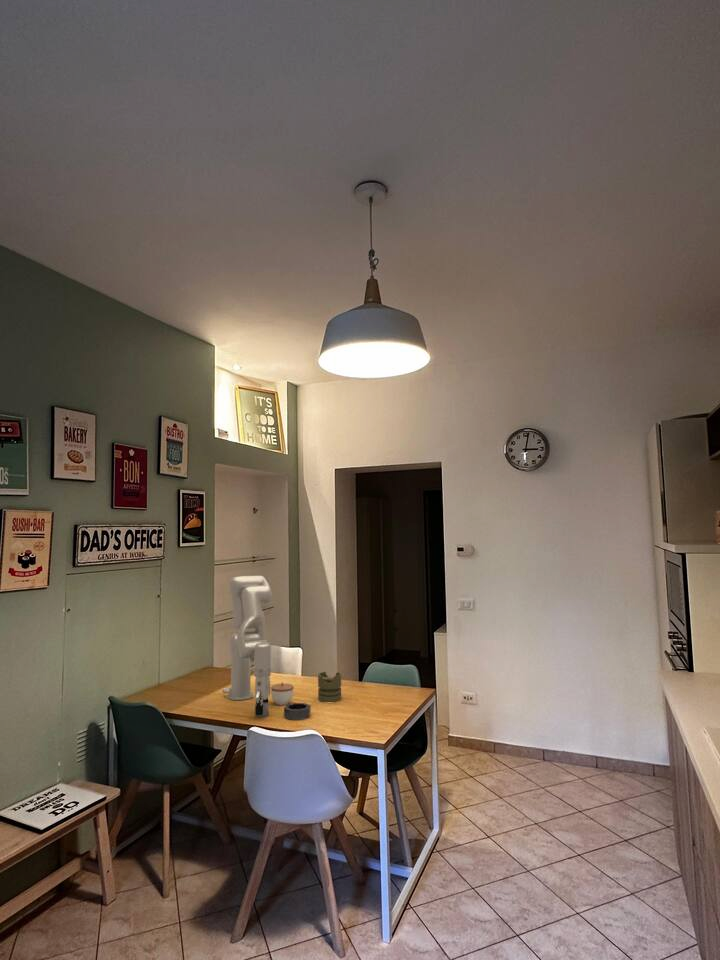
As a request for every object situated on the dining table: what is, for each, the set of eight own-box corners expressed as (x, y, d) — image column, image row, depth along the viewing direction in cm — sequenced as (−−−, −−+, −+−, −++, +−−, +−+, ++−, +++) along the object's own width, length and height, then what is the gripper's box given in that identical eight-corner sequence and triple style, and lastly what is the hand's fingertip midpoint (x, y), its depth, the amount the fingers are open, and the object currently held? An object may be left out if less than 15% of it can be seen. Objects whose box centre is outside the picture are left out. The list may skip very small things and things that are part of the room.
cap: (253, 717, 241) (253, 705, 242) (257, 713, 247) (257, 701, 248) (266, 717, 241) (267, 705, 241) (270, 713, 247) (270, 701, 247)
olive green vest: (320, 671, 275) (342, 671, 274) (320, 696, 274) (342, 696, 273) (316, 676, 264) (339, 677, 263) (316, 702, 263) (339, 703, 262)
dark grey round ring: (282, 719, 238) (282, 710, 238) (287, 711, 249) (287, 702, 249) (307, 720, 237) (307, 710, 237) (311, 712, 248) (311, 703, 248)
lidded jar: (296, 700, 267) (296, 680, 268) (289, 707, 256) (289, 686, 257) (275, 699, 269) (275, 679, 270) (267, 705, 258) (267, 685, 259)
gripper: (265, 676, 237) (265, 717, 235) (274, 667, 254) (274, 705, 253) (248, 676, 238) (248, 717, 236) (259, 667, 255) (258, 705, 253)
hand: (261, 711), depth 244 cm, fingers open, 9 cm apart
